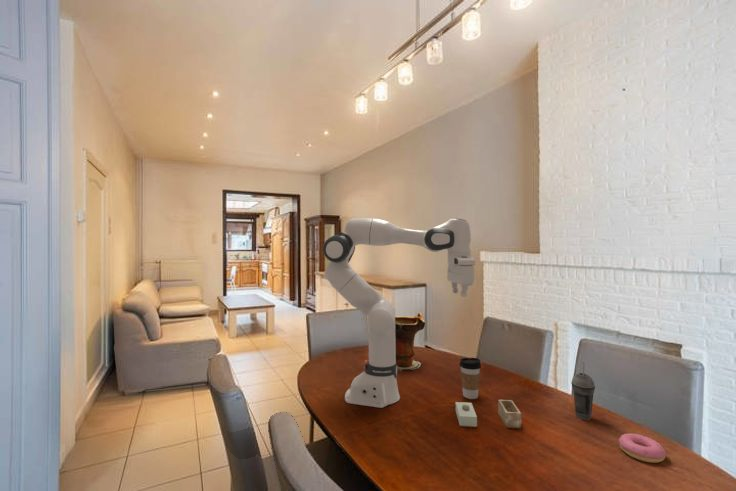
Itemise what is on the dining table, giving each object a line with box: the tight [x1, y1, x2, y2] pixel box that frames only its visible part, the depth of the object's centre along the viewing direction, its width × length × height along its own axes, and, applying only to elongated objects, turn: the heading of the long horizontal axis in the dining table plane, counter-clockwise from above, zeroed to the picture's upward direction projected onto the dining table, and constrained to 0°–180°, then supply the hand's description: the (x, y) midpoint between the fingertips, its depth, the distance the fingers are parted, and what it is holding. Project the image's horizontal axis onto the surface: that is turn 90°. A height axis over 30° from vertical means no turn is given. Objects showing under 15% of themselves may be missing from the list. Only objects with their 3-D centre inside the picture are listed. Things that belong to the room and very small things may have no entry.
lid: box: [455, 401, 478, 428], centre depth 123 cm, size 6×11×5 cm, turn 173°
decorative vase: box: [395, 312, 426, 371], centre depth 179 cm, size 21×23×28 cm
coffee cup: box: [459, 357, 482, 400], centre depth 141 cm, size 8×8×15 cm
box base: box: [497, 399, 522, 429], centre depth 121 cm, size 5×10×5 cm, turn 173°
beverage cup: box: [570, 362, 596, 421], centre depth 123 cm, size 7×7×20 cm
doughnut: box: [618, 432, 667, 464], centre depth 101 cm, size 11×11×4 cm
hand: (459, 294), depth 135 cm, fingers open, 8 cm apart
